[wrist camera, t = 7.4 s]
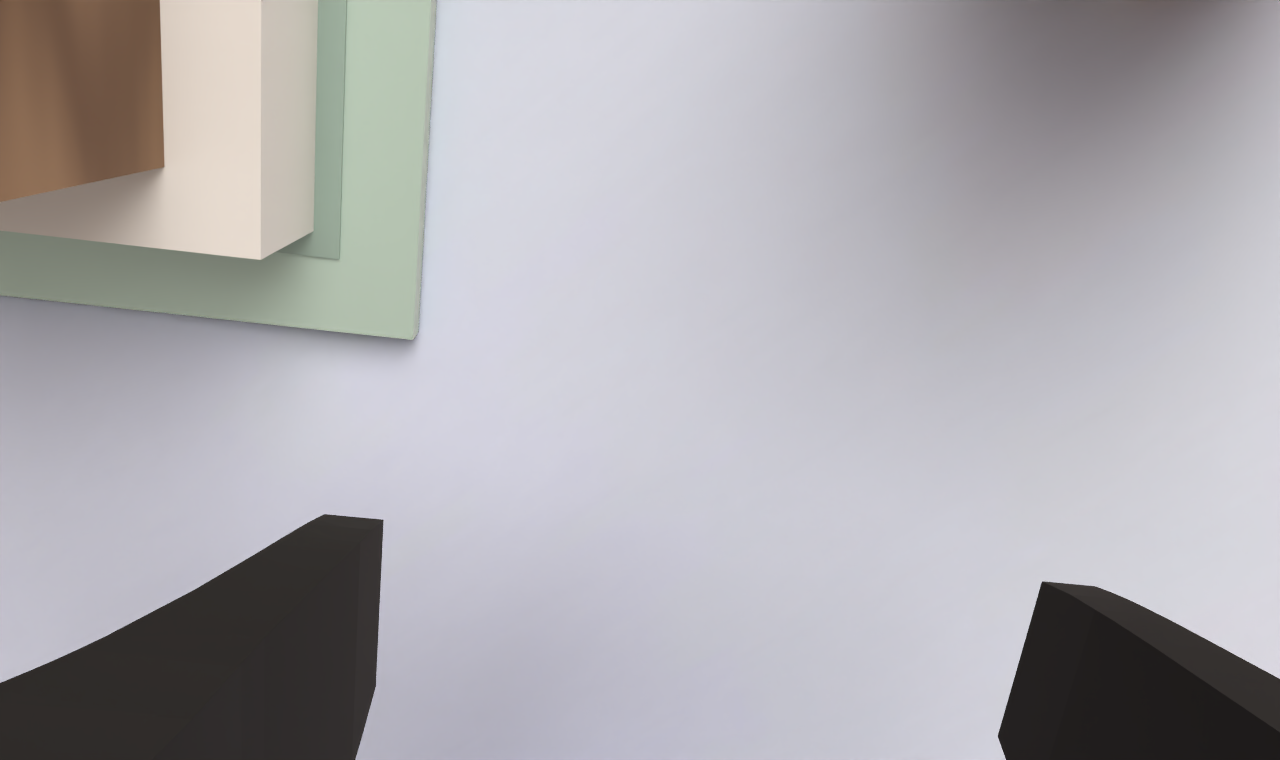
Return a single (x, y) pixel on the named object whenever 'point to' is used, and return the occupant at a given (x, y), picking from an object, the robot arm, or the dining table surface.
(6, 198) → the walnut cube
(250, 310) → the board
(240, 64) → the block
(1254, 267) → the dining table surface
